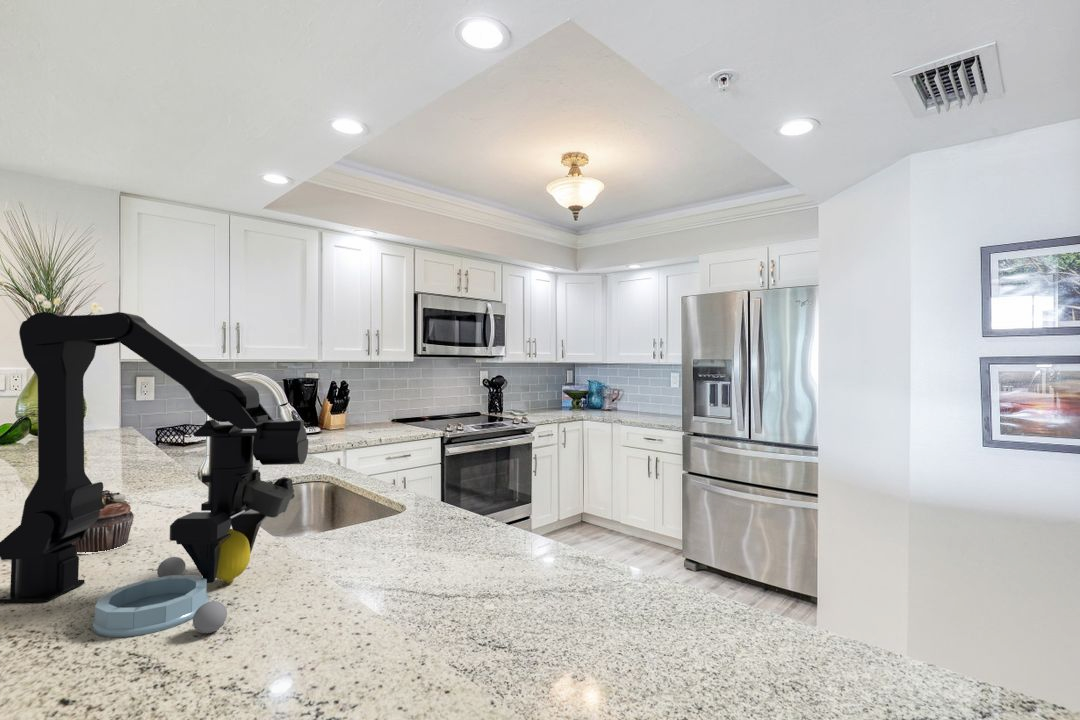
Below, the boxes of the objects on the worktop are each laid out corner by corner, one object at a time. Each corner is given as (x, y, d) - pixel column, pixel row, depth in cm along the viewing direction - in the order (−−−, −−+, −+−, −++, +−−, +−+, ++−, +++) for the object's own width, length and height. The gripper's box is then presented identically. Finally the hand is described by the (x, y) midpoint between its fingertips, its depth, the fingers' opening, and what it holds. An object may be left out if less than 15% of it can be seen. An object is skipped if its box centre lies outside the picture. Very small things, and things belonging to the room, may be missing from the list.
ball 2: (185, 639, 60) (186, 609, 60) (203, 624, 64) (204, 596, 64) (216, 638, 60) (216, 608, 60) (232, 624, 64) (233, 596, 64)
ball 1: (151, 585, 76) (151, 561, 76) (167, 576, 79) (167, 553, 79) (175, 585, 76) (176, 561, 76) (190, 576, 79) (191, 553, 79)
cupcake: (146, 541, 96) (148, 487, 96) (91, 558, 86) (93, 499, 87) (106, 537, 98) (108, 484, 98) (48, 554, 89) (50, 496, 89)
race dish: (65, 638, 60) (66, 614, 60) (140, 594, 72) (140, 574, 72) (170, 636, 61) (170, 612, 61) (227, 593, 73) (227, 573, 73)
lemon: (229, 592, 73) (231, 535, 74) (197, 588, 75) (198, 533, 75) (258, 577, 79) (259, 524, 79) (227, 574, 80) (228, 522, 80)
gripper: (254, 477, 68) (251, 596, 68) (310, 456, 87) (308, 549, 86) (168, 477, 68) (164, 597, 67) (243, 456, 87) (241, 549, 86)
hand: (228, 570), depth 77 cm, fingers open, 9 cm apart
